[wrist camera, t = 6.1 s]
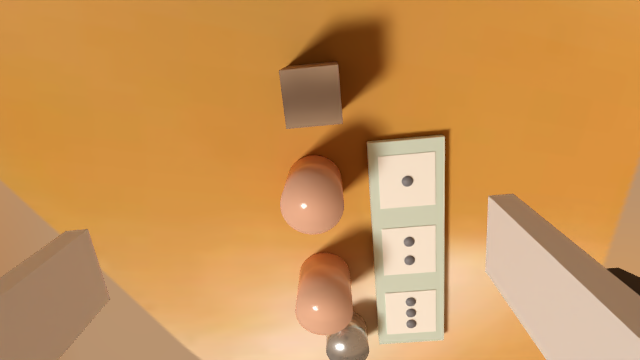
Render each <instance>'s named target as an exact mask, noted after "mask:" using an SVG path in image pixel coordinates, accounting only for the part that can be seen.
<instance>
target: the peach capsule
mask: <svg viewBox="0 0 640 360" xmlns="http://www.w3.org/2000/svg"><path fill="white" fill-rule="evenodd" d="M280 207H281V212H282V215H283V217H284V219H285V221H286V222H287V223H288V224H289V225H290V226H291V227H292V228H294V229H295V230H297V231H299V232H302V233H305V234H320V233H324V232H326V231H328V230H330V229H331V228H333V227H334V226H335V225H336V224H337V223H338V222H339V220H340V219H341V216H342V214H343V210H344V200H343V189H342V179H341V174H340V171H339V169H338V167H337V166H336V165H335V164H334V163H333V162H332V161H331V160H329V159H328V158H326V157H323V156H319V155H310V156H306V157H303V158H301V159H299V160H298V161H297V162H295V163H294V165H293V166H292V167H291V169H290V171H289V174H288V177H287V180H286V184H285V187H284V190H283V193H282V197H281V202H280Z"/></svg>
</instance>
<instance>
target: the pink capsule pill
mask: <svg viewBox="0 0 640 360" xmlns="http://www.w3.org/2000/svg"><path fill="white" fill-rule="evenodd" d="M295 313H296V317H297V320H298V322H299V323H300V324H301V326H302V327H303V328H305V329H306V330H308V331H309V332H311V333H314V334H318V335H331V334H335V333H338V332H340V331H341V330H343V329H344V328H345V327H346V326H347V325H348V324H349V323H350V321H351V319H352V316H353V305H352V294H351V283H350V272H349V268H348V266H347V264H346V262H345V261H344V260H343V259H342V258H340V257H339V256H337V255H335V254H332V253H317V254H314V255H312V256H310V257H309V258H307V259H306V260H305V262H304V263H303V264H302V267H301V270H300V277H299V285H298V293H297V301H296V309H295Z"/></svg>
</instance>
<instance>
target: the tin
mask: <svg viewBox="0 0 640 360" xmlns="http://www.w3.org/2000/svg"><path fill="white" fill-rule="evenodd" d="M326 351H327V355H328V357H329V359H330V360H365V359H366V358H367V356H368V354H369V346H368V338H367V330H366V324H365V321H364V319H363V318H362V317H361V316H360V315H358V314H356V313H354V312H353V316H352V319H351V321H350V323H349V324H348V325H347V326H346V327H345V328H344V329H343V330H341V331H340V332H338V333H335V334H331V335H327V345H326Z"/></svg>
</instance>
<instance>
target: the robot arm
mask: <svg viewBox="0 0 640 360" xmlns="http://www.w3.org/2000/svg"><path fill="white" fill-rule="evenodd" d="M485 272H486V273H487V275H488V276H489V277H490V279H491V280H492V282H493V283H494V285H495V286H496V288H497V289H498V290H499V292H500V293H501V295H502V296H503V298H504V299H505V301H506V302H507V303H508V305H509V306H510V308H511V309H512V311H513V312H514V314H515V315H516V316H517V318H518V319H519V321H520V322H521V324H522V325H523V327H524V328H525V329H526V331H527V332H528V334H529V335H530V337H531V338H532V340H533V341H534V342H535V344H536V345H537V347H538V348H539V350H540V351H541V353H542V354H543V355H544V357H545V358H546V360H640V277H637V276H635V275H633V274H631V273H629V272H626V271H624V270H622V269H620V268H609V269H606V268H605V267H603V266H602V265H601V264H600V263H598V262H597V261H596V260H595V259H593V258H592V257H591V256H590V255H588V254H587V253H586V252H585V251H584V250H582V249H581V248H580V247H579V246H577V245H576V244H575V243H574V242H572V241H571V240H570V239H569V238H567V237H566V236H565V235H564V234H562V233H561V232H560V231H559V230H557V229H556V228H555V227H554V226H553V225H551V224H550V223H549V222H548V221H546V220H545V219H544V218H543V217H541V216H540V215H539V214H538V213H536V212H535V211H534V210H533V209H531V208H530V207H529V206H528V205H527V204H525V203H524V202H523V201H522V200H520V199H519V198H518V197H517V196H515V195H514V194H505V195H493V196H489V197H488V221H487V245H486V268H485ZM109 300H110V297H109V294H108V291H107V287H106V285H105V281H104V278H103V275H102V272H101V269H100V266H99V262H98V259H97V256H96V253H95V250H94V247H93V244H92V241H91V237H90V234H89V231H88V229H85V230H73V231H65V232H64V233H62V234H61V235H60V236H58V237H57V238H55V239H54V240H53V241H51V242H50V243H48V244H47V245H46V246H44V247H43V248H41V249H40V250H39V251H37V252H36V253H34V254H33V255H32V256H30V257H29V258H27V259H26V260H24V261H23V262H22V263H20V264H19V265H17V266H16V267H15V268H13V269H12V270H10V271H9V272H8V273H6V274H5V275H3V276H2V277H0V360H58V359H59V358H60V357H61V356H62V355H63V354H64V352H65V351H66V350H67V349H68V348H69V347H70V345H71V344H72V343H73V342H74V341H75V340H76V338H77V337H78V336H79V335H80V334H81V332H83V330H84V329H85V328H86V327H87V326H88V324H89V323H90V322H91V321H92V319H94V317H95V316H96V315H97V314H98V313H99V312H100V311H101V309H102V308H103V307H104V306H105V304H106V303H107V302H108V301H109Z"/></svg>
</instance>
